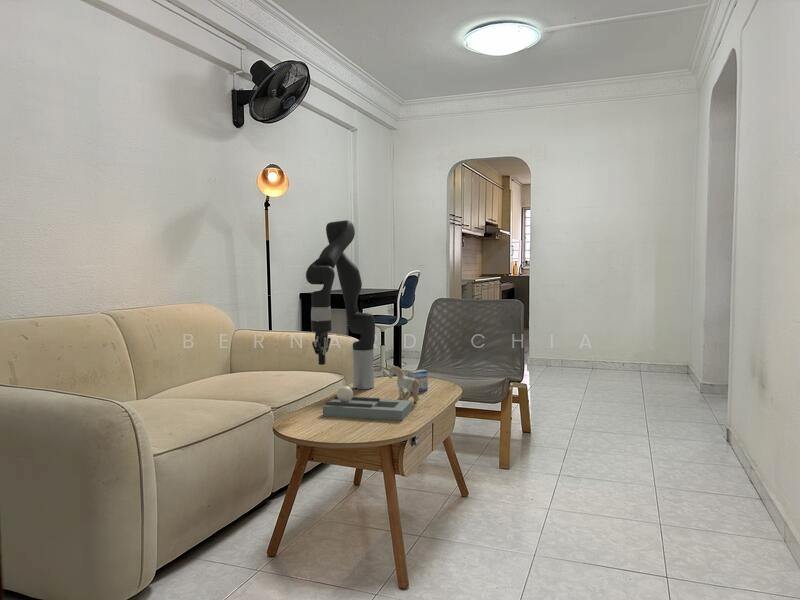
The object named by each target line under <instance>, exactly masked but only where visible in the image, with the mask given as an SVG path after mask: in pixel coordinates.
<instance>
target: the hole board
mask: <svg viewBox="0 0 800 600" xmlns="http://www.w3.org/2000/svg"><path fill="white" fill-rule="evenodd" d="M324 403H325V404H324V405H322V416H324V417H335V418H337V417H338V418H355V419H356V418H357V419H368V418H369V420H370V419H371V420H372V419H373V420H384V419H388V421H400V420H402V421H404V419H406V417H407V416H408V415H409V414H410V413H411V412H410V411H411V410H413V400H409V399H408V400H405V399H402V400H398V399H389V398H387V399H386V398H384V399H383V398H380V397H369V396H368V397H366V396H353V397H352V399H351V400H350V401H349V402H341V401H340V400H339V399H338V397H337V395H334V396H333V399H331V400H330V401H328V400H326V401H325V402H324ZM409 412H410V413H409Z"/></svg>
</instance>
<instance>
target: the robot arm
mask: <svg viewBox="0 0 800 600" xmlns="http://www.w3.org/2000/svg"><path fill="white" fill-rule="evenodd" d="M325 233H326V238H327V242H328V245H327V246H326V247H324V248H323V250H322V251H321V253H320V254H319V256H318V258H317V259H315V260H314V261H313V262H312V263H311V264H310V265H309V266H308V267H307V270H306V271H305V279H306V281H307V283H309V284H310V285H323V286H322V288H321V289H320V290H316V291H312V293H311V295H310V296H311V297H310V298H311V310H310V319H311V320H310V328H311V329H310V330H311V332H312V333H315V334H314V341H312V343H311V345H312V347H313V351H314V353H315V355H318V365H319V366H325V365H326V355H327V352H328V351H329V348H330V344H331V341H332V339H331V337H329V333H328V332H331V331H332V310H331V295H332V294H331V293H332V290H333V284H334V280H335V277H336V276H335V275H336V273H337V276H338V280H339V284H340V289H341V291H342V292H341V293H342V296H343V301H344V306H345V312H346V321H347V326H348V328H349V330H350V332H351V333H353V334H360V335H361V336H360V337H361V338H360V339H359V340H357V341H353V343H352V385H353V386H352V387H354V388H353V389H355V388H357V389H356V390H371V389H373V388H375V369H374V368H375V367H374V366H375V364H374V363H375V362H374V356H375V355H374V354H375V353H374V345H375V341H376V337H375V335H376V321H375V320H376V319H375V317H374V315H373V313H368V312H360V311H359V307H358V299H359V296H360V293H361V290H362V287H363V283H362V281H363V280H362V277H361V273H360V270H359V268H358V267H357V265H356V264H355V263H354V262H353V261H352V260H351V259H350V257H348V256H347V254H346V253H345V252H344V251H345V250H346V249H347V248H348V247H349V245H350V244H351V243H352V242H353V240H354V238H355V235H356V230H355V225H354V224H353V222H352V221H351V220H346V219H345V220H336V221H330V222H328V223H327V224H326V227H325ZM335 267H336V273H335ZM370 388H371V389H370Z"/></svg>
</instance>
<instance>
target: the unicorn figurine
mask: <svg viewBox="0 0 800 600" xmlns="http://www.w3.org/2000/svg"><path fill="white" fill-rule="evenodd" d="M379 368H380V369H381V368H382V369H384V370H386V371H388V379H392V378H393V376H395V374H396V376H397V379H396V385H397V387H398V393H399V394H398V395H399V396H398V397H397V400H403V399H404V400H408V401H409V399H410V395H411V393H412V398H413V400H412V403H414V402H415V403H418V402H419V401H420V399H419V393H420V392H419V386H420V385H419V382H418V381H417V379H414V378H408V376H406V374H405V372H404V370H403V368H400V367H399V366H398V365H397V366H396V365H392V366H389V368H387V367H383V366H379ZM411 388H413V392H410V390H411ZM404 389H406V390H407V395H406V392H405V391H404Z"/></svg>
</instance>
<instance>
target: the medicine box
mask: <svg viewBox="0 0 800 600" xmlns="http://www.w3.org/2000/svg"><path fill="white" fill-rule="evenodd" d="M428 374H429V372H428V370H426V369H417V370H412V371H407V377H408V378H414V379H417V381H418V382H419V385H420V386H419V391H421V392H424V391H423V390H426V391H428V390H429V375H428ZM427 389H428V390H427ZM410 391H411V393H413V388H411V390H410Z"/></svg>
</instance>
